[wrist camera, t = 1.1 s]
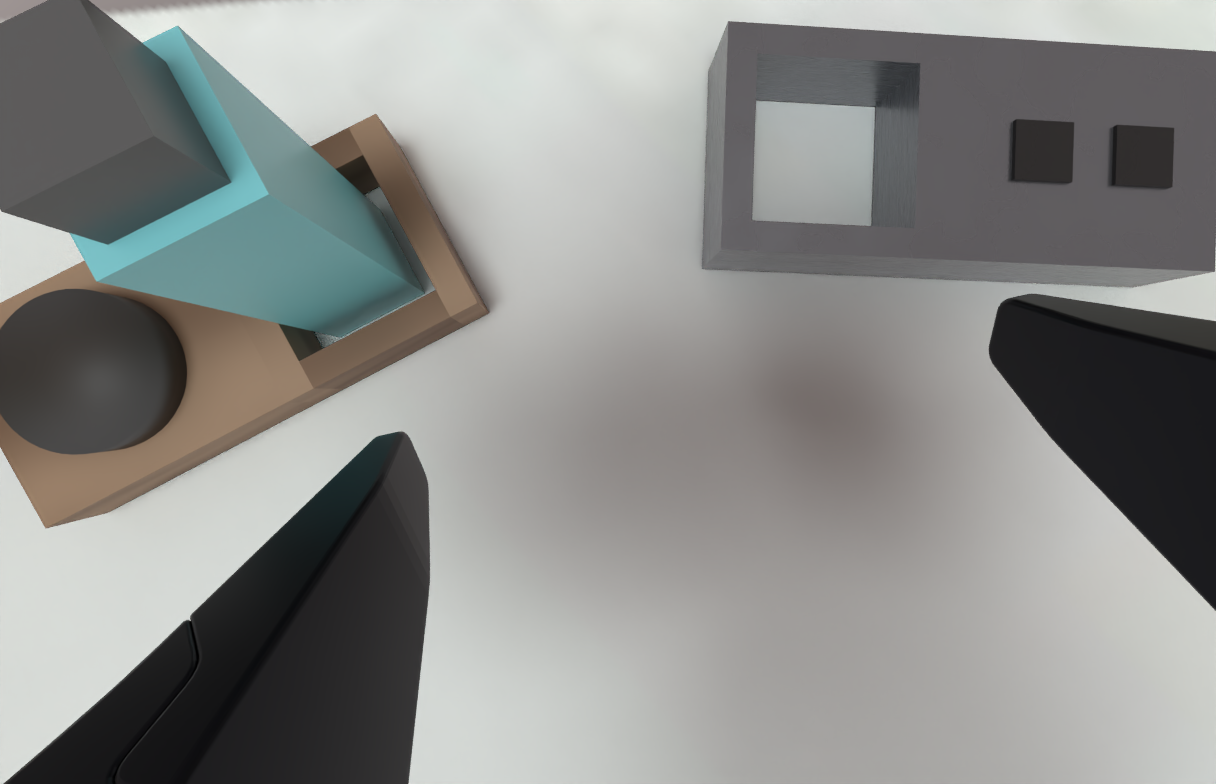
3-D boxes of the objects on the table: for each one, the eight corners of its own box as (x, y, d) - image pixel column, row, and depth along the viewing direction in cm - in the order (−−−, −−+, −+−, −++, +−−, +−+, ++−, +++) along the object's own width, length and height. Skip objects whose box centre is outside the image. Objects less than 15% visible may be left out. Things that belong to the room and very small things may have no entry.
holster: (489, 313, 22) (470, 296, 18) (107, 512, 21) (9, 537, 18) (399, 145, 22) (362, 95, 18) (12, 341, 21) (-106, 331, 18)
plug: (424, 293, 22) (199, 149, 9) (340, 337, 22) (-13, 256, 9) (379, 209, 22) (86, -57, 9) (294, 253, 22) (-129, 47, 9)
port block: (1133, 287, 23) (1219, 270, 20) (702, 268, 22) (721, 248, 19) (1138, 95, 23) (1225, 49, 20) (708, 70, 22) (729, 18, 19)
